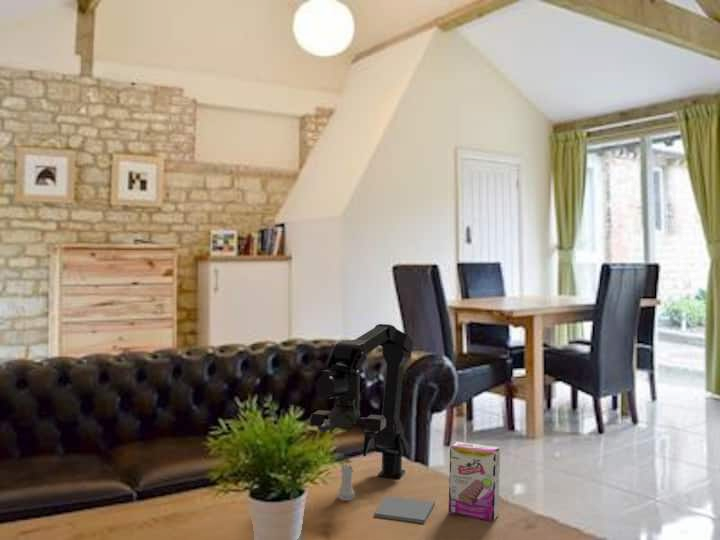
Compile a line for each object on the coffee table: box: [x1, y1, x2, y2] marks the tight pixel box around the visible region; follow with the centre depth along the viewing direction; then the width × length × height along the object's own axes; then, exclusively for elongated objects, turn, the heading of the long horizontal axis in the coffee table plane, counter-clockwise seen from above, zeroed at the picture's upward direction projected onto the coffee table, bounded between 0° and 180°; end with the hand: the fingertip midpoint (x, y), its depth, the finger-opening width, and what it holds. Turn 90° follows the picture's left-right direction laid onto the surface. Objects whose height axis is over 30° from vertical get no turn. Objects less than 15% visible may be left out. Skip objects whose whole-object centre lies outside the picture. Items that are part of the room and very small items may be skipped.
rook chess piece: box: [337, 464, 356, 502], centre depth 159 cm, size 4×4×8 cm
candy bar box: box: [448, 440, 501, 522], centre depth 149 cm, size 11×5×16 cm, turn 65°
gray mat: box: [373, 495, 435, 524], centre depth 151 cm, size 12×12×1 cm
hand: (347, 454), depth 159 cm, fingers open, 9 cm apart
